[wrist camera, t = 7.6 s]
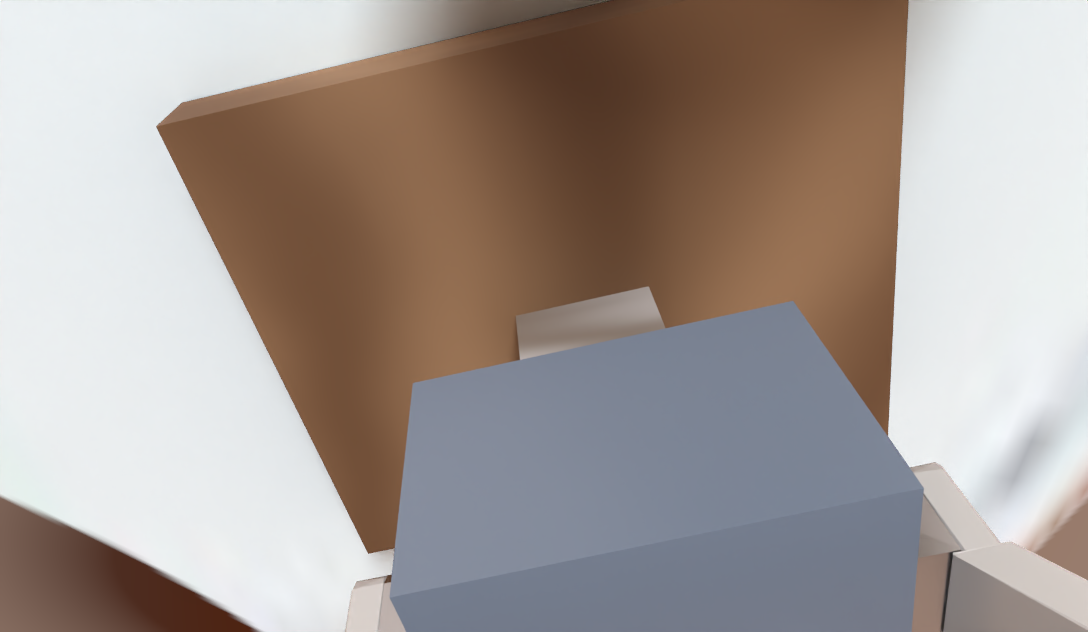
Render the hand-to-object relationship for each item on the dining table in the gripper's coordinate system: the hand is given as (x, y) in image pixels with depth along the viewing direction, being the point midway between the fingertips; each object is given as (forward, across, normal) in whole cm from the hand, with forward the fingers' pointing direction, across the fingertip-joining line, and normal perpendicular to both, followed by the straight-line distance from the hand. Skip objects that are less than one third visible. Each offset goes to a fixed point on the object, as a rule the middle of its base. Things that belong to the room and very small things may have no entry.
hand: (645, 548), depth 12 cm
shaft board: (+8, 0, 0) cm, 8 cm away
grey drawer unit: (+2, 0, 0) cm, 2 cm away
